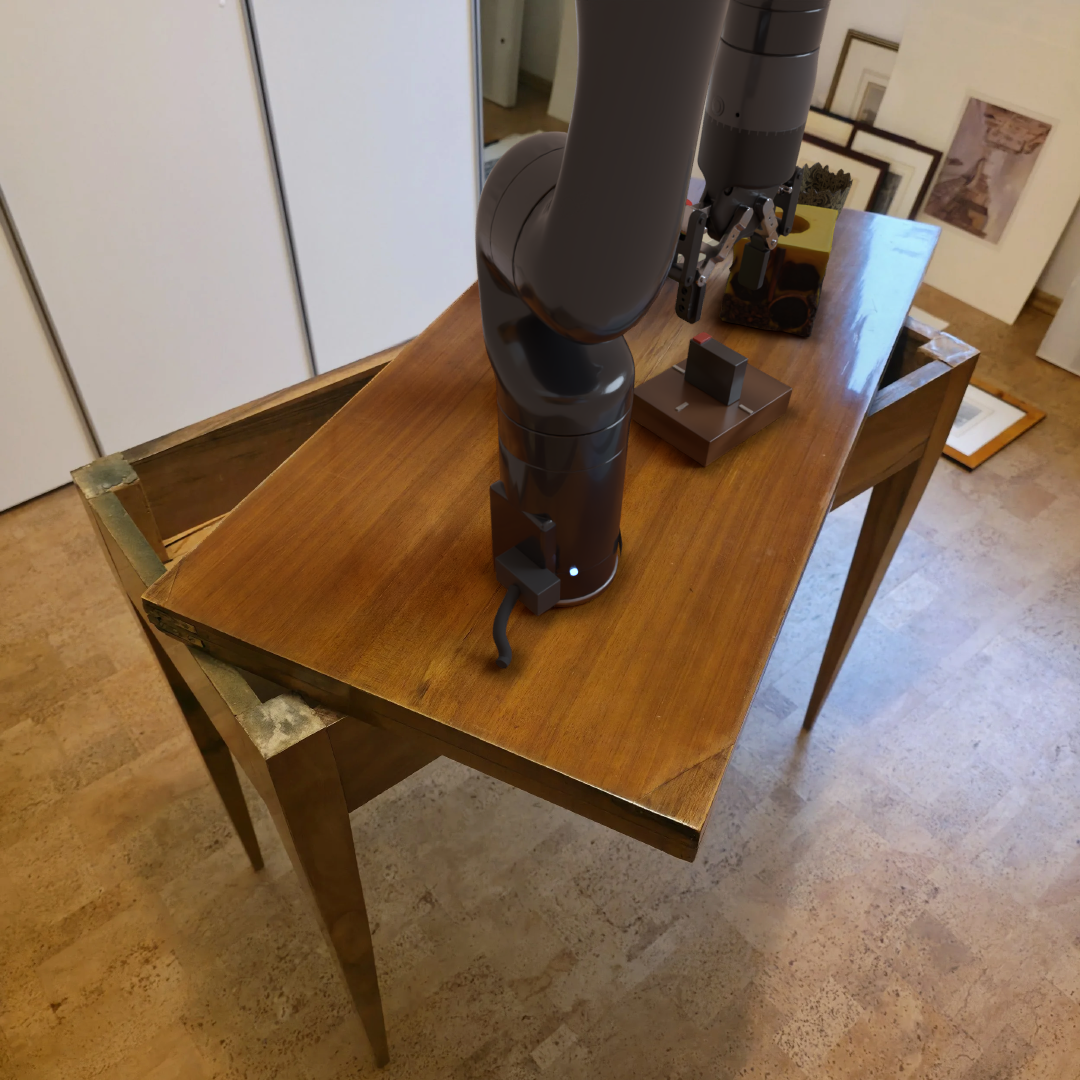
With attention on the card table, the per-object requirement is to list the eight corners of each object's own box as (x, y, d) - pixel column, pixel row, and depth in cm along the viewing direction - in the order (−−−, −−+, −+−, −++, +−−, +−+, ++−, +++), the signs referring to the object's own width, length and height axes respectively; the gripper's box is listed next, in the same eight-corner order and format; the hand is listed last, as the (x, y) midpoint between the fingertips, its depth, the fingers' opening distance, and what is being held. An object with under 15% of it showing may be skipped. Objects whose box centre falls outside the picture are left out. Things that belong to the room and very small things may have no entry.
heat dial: (740, 398, 82) (749, 356, 78) (727, 406, 81) (735, 363, 78) (696, 372, 85) (703, 330, 81) (683, 379, 84) (689, 337, 80)
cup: (847, 238, 109) (865, 175, 104) (816, 260, 106) (832, 195, 100) (796, 219, 113) (810, 156, 107) (764, 239, 109) (777, 175, 103)
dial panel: (705, 467, 80) (710, 440, 77) (626, 415, 85) (629, 389, 83) (786, 413, 85) (793, 386, 83) (708, 367, 90) (712, 341, 88)
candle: (810, 340, 94) (833, 254, 87) (717, 323, 96) (732, 237, 89) (821, 292, 101) (843, 209, 93) (733, 277, 103) (748, 194, 96)
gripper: (737, 148, 59) (699, 351, 71) (854, 99, 66) (802, 291, 78) (654, 115, 63) (632, 313, 75) (773, 72, 70) (735, 259, 82)
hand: (719, 302), depth 76 cm, fingers open, 8 cm apart
